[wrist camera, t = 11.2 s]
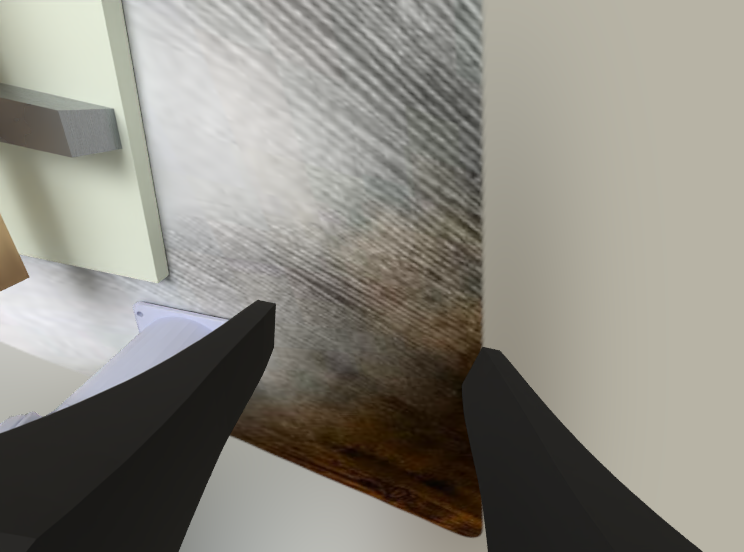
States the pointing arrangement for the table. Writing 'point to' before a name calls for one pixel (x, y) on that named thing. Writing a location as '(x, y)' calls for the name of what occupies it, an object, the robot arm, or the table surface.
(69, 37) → the balance stand
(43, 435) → the robot arm
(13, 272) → the wooden block
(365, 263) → the table surface
